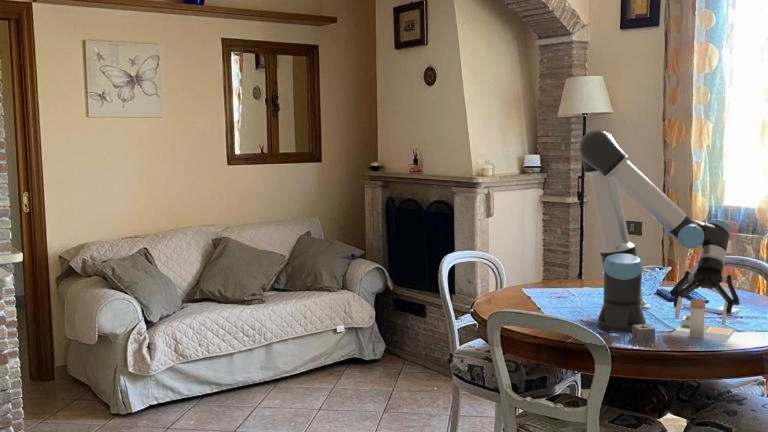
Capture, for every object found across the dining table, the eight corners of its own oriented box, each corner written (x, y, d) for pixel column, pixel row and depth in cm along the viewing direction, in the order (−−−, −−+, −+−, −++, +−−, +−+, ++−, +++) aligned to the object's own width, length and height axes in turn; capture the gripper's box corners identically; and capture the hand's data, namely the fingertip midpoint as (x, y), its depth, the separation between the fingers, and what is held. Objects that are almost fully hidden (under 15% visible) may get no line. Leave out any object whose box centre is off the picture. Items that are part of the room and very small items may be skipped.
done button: (685, 322, 245) (685, 316, 244) (687, 320, 247) (687, 314, 247) (694, 323, 243) (694, 317, 243) (696, 321, 245) (696, 315, 245)
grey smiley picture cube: (638, 345, 229) (639, 329, 228) (631, 340, 233) (632, 324, 233) (654, 344, 229) (655, 328, 228) (647, 339, 234) (648, 324, 233)
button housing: (681, 326, 245) (681, 319, 244) (684, 322, 248) (685, 316, 248) (696, 328, 242) (697, 321, 242) (700, 324, 246) (700, 318, 245)
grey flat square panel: (670, 336, 236) (670, 334, 236) (683, 323, 250) (683, 321, 250) (725, 345, 227) (725, 342, 227) (736, 330, 241) (736, 328, 241)
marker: (688, 335, 234) (689, 300, 233) (691, 332, 238) (692, 298, 236) (702, 337, 232) (703, 302, 230) (705, 334, 235) (706, 299, 234)
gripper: (755, 273, 239) (744, 331, 229) (672, 265, 253) (659, 320, 243) (753, 259, 234) (742, 318, 224) (669, 252, 248) (655, 307, 238)
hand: (699, 319), depth 233 cm, fingers open, 13 cm apart
